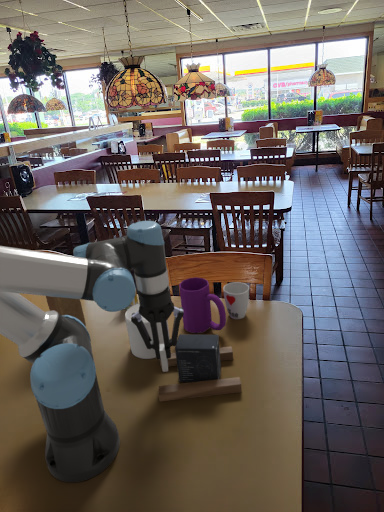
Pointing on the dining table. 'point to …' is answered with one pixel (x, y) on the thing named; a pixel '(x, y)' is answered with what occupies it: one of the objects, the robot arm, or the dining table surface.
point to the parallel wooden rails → (200, 383)
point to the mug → (199, 306)
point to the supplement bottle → (133, 302)
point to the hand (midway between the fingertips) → (165, 367)
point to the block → (66, 307)
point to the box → (198, 357)
